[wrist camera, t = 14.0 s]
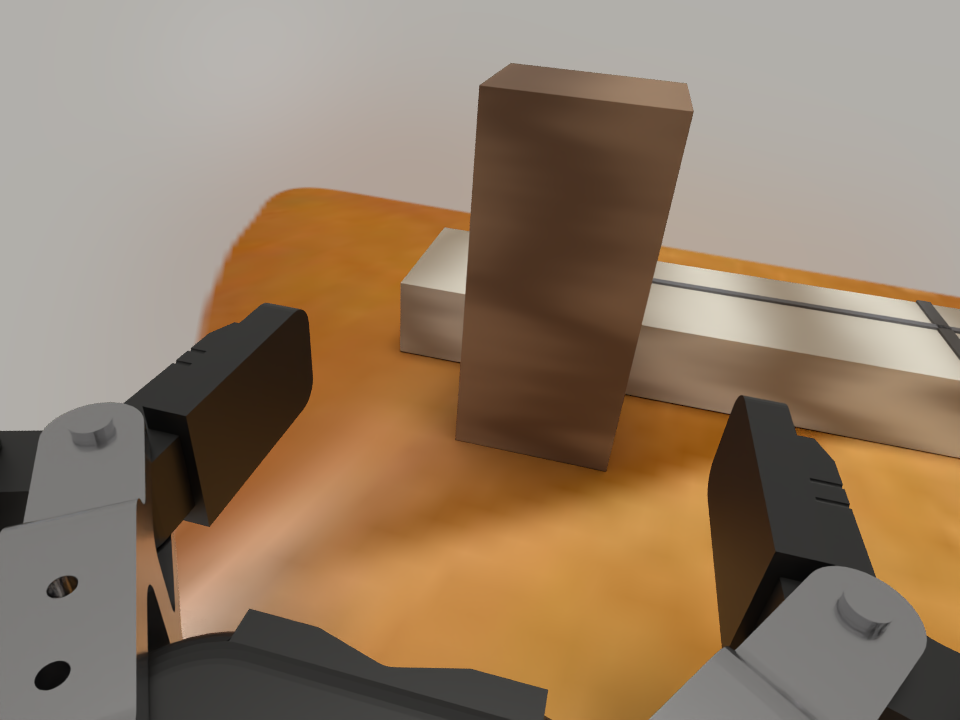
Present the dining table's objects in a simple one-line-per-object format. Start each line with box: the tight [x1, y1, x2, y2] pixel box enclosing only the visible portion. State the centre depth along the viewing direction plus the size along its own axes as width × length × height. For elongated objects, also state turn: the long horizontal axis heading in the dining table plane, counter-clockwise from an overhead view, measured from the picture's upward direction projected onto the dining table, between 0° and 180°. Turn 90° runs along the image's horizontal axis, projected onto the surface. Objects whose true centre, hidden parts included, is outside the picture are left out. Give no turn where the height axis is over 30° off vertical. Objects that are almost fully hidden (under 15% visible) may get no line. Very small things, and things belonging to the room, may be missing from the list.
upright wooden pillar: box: [455, 63, 694, 471], centre depth 22 cm, size 5×9×11 cm, turn 167°
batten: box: [400, 228, 960, 458], centre depth 25 cm, size 30×6×3 cm, turn 77°
